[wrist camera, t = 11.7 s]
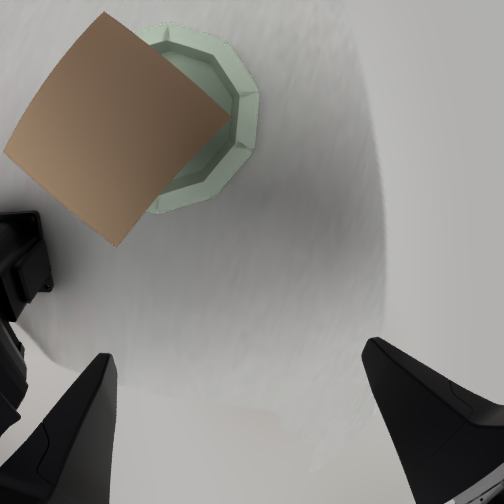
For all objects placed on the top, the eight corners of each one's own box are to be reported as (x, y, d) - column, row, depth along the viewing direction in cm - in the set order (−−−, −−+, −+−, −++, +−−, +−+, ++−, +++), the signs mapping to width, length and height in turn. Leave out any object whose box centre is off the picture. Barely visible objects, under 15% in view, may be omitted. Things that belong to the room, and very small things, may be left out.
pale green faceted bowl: (91, 197, 17) (73, 216, 14) (96, 43, 13) (76, 31, 10) (238, 197, 19) (248, 215, 16) (253, 43, 15) (266, 29, 12)
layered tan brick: (164, 157, 16) (116, 247, 6) (121, 121, 15) (3, 151, 4) (205, 114, 16) (231, 117, 5) (162, 76, 14) (104, 11, 4)
